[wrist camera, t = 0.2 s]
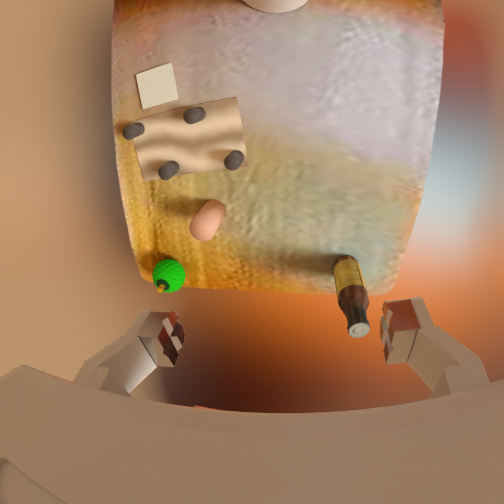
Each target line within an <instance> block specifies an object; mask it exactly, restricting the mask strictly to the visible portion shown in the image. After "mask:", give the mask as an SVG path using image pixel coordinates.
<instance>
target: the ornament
mask: <svg viewBox="0 0 504 504" xmlns="http://www.w3.org/2000/svg"><path fill="white" fill-rule="evenodd" d="M152 275H153V281H154V284H155V285H156V286H157V288H158V289H157V291H158V292H159V293H162V291H164V292H174V291H177V290H178V289H180V288H181V286H182V285H183V283H184V281H185V271H184V269H183V267H182V265H181V264H179V262H178V261H175V260H172V259H166V260H162V261H161V262H159V263H158V264H157V265H156V266H155V268H154V270H153V274H152Z"/></svg>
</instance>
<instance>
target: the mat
mask: <svg viewBox="0 0 504 504" xmlns="http://www.w3.org/2000/svg"><path fill="white" fill-rule="evenodd" d="M136 78H137V83H138V88H139V93H140V98H141V103H142V107H143V109H146V108H149V107H153V106H156V105H159V104H163V103H166V102H170V101H174V100H178V99H179V98H178V93H177V88H176V83H175V78H174V73H173V68H172V63H169V64H165V65H162V66H159V67H156V68H153V69H150V70H148V71H145V72H142V73H139V74H136Z"/></svg>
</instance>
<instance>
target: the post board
mask: <svg viewBox="0 0 504 504" xmlns="http://www.w3.org/2000/svg"><path fill="white" fill-rule="evenodd" d="M129 124H130V125H128V126H126V127H124V129H123V136H124V138H125V139H127V140H130V139H133V140H134V145H135V148H136V152H137V156H138V160H139V164H140V168H141V171H142V175H143V179H144V181H149V180H155V179H160V178H161V179H163V180H168V179H170V178H171V177H172V176H177V175H184V174H190V173H196V172H203V171H210V170H217V169H225V168H227V169H229V170H236V169H237V168H238V167H241V166H248V161H247V155H246V149H245V143H244V137H243V131H242V126H241V120H240V114H239V108H238V102H237V97H234V98H228V99H222V100H217V101H212V102H207V103H202V104H198V105H193V106H189V107H185V108H180V109H176V110H172V111H168V112H165V113H161V114H157V115H154V116H150V117H147V118H143V119H140V120H137V121H133V122H130V123H129Z"/></svg>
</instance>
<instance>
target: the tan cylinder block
mask: <svg viewBox="0 0 504 504" xmlns="http://www.w3.org/2000/svg"><path fill="white" fill-rule="evenodd" d="M225 213H226V210H225V207H224V205H223V204H222V203H221V202H220V201H218V200H209V201H207V202H206V203H205V204H204V206H203V207H202V208H201V210H200V211H199V212H198V214H197V215H196V216H195V217H194V219H193V220H192V221H191V223H190V226H189V230H190V233H191V234H192V236H193V237H194V238H196V239H197V240H200V241H208V240H210V239H211V238H212V237H213V235H214V233H215V232H216V230H217V228H218V226H219V225H220V223H221V221H222V219H223V218H224V216H225Z"/></svg>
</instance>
